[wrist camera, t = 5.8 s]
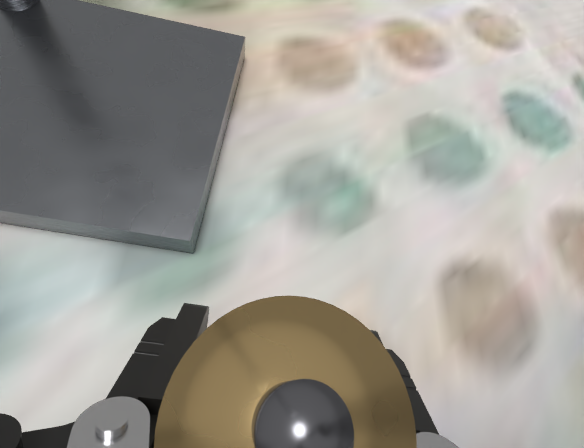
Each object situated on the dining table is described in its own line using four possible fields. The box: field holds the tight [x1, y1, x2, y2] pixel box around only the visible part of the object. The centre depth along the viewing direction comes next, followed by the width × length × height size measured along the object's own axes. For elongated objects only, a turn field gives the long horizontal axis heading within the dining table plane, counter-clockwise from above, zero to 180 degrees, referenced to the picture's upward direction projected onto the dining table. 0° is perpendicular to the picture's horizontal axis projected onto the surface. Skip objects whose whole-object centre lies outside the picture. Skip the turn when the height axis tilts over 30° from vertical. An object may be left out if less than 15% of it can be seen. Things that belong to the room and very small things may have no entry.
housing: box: [154, 296, 417, 448], centre depth 9 cm, size 4×4×10 cm
